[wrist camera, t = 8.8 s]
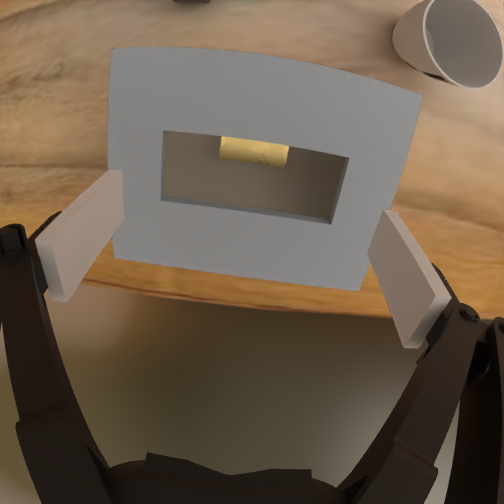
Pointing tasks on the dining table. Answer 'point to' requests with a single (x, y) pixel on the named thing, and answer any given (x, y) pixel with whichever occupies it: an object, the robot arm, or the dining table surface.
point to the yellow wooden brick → (253, 151)
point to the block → (191, 0)
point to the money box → (253, 174)
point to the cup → (451, 42)
